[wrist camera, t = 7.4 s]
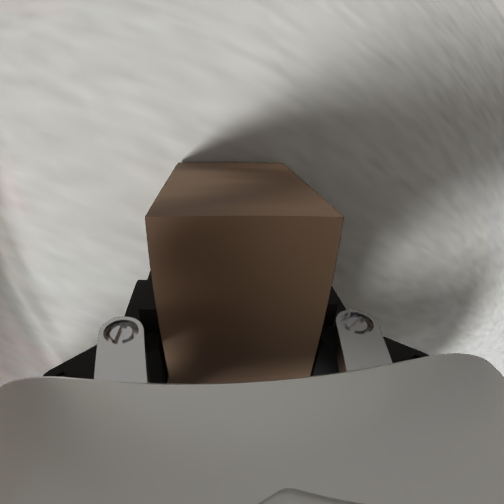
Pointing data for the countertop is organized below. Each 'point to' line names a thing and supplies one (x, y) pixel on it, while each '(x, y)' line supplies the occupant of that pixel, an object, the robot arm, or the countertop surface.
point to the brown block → (240, 271)
